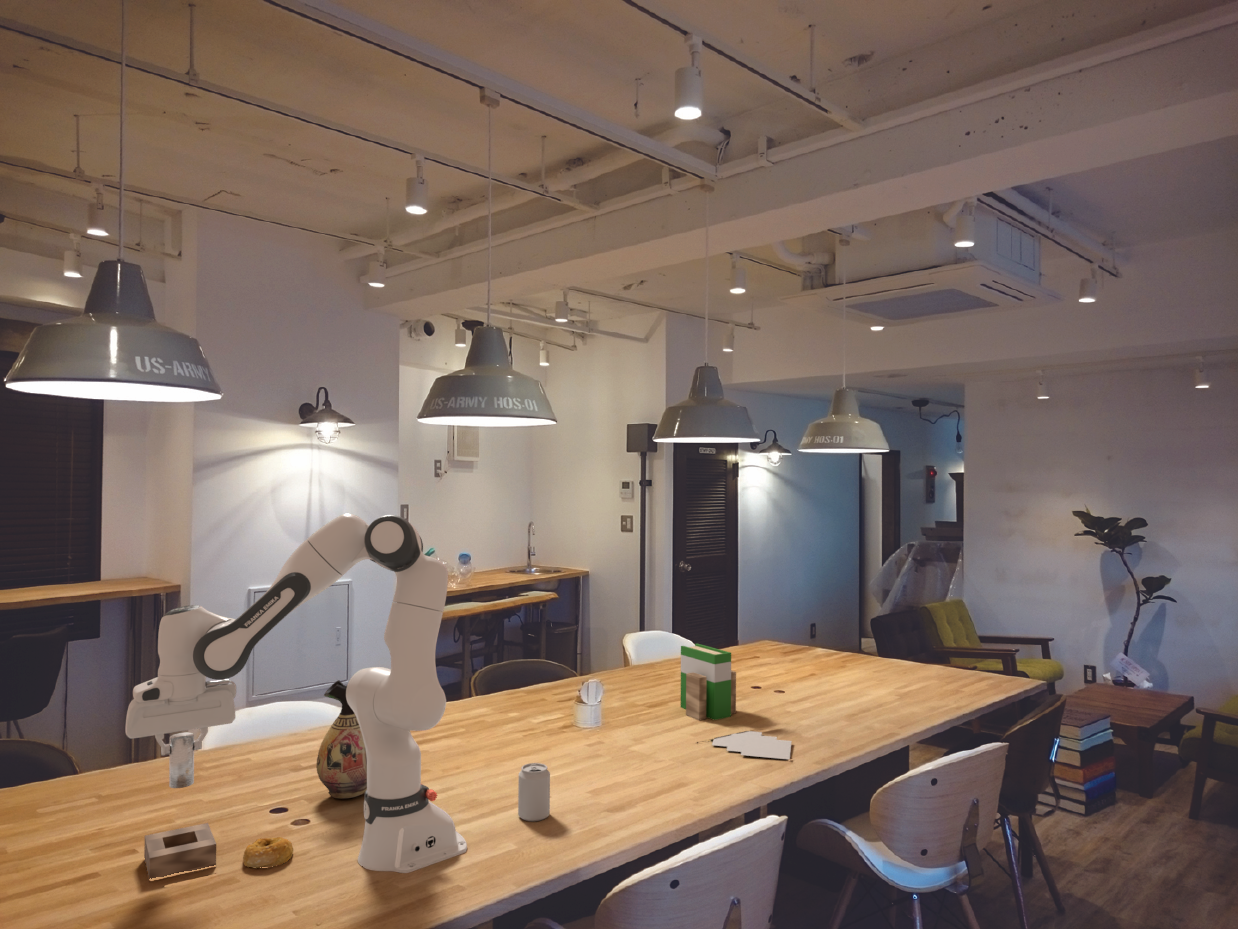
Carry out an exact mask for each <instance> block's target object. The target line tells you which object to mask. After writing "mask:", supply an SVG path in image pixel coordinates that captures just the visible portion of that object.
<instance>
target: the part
mask: <svg viewBox="0 0 1238 929" xmlns="http://www.w3.org/2000/svg"><path fill="white" fill-rule="evenodd" d="M194 740H195V734H194V733H193V732H187V731H186V732H179V733H178V732H177V733H174V734H172V735H170V736H169V744H170V754H169V763H168V764H169V776H168V777H169V784H168V786H169V788H171V789H184V788H188V787H190V786H192V785H194V783H195V750H194Z"/></svg>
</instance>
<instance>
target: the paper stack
mask: <svg viewBox="0 0 1238 929" xmlns="http://www.w3.org/2000/svg"><path fill="white" fill-rule="evenodd" d="M762 733H763V732H762V731H752V730H745V731H739V732H736V733H731V734H726V735H722V736H717V737H714V738H713V741H712V743H711V746H717V747H726V751H727V752H728V751H729V752H737V753H738V752H740V756H747V757H749V756H750V757H756V758H757V757H758V758H759V757H760V758H769V759H770V758H771V759H778V760H779V759H780V760H790V759H791V750H792V749H791V748H792V740H784V739H778V737H777V736H771V735H770V736H768V735H763V734H762Z"/></svg>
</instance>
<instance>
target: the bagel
mask: <svg viewBox="0 0 1238 929" xmlns="http://www.w3.org/2000/svg"><path fill="white" fill-rule="evenodd" d="M243 852H244V853H243V856H242V859H243V860H242V862H243V865H244V866H245V867H246V866H247V867H246V868H249V867H256V868H255V869H257V868H260V867H261V868H262V867H272V866H276V865H279V866H281V865H283V863H284V864H285V862H286V863H288V862H289V861H290V860H291V858H292V856H293V853H294V847H293V844H292V841H290V840H289V839H287V838H283V837H282V836H278V837H265V838H262V837H261V838H258V839H256V840H255V841H253V842H252V844H248V845H247V846H246V847H245V850H244V851H243ZM289 859H290V860H289ZM288 860H289V861H288ZM287 861H288V862H287ZM280 864H281V865H280ZM276 867H277V866H276Z"/></svg>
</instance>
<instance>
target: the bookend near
mask: <svg viewBox="0 0 1238 929" xmlns="http://www.w3.org/2000/svg"><path fill="white" fill-rule="evenodd" d="M706 681H707V677H706V676H703V675H700V674H697V673H694V672H692V673H686V709H685V716H687V717H690V718H692V719H695V720H697V721H703V720H706V719H707V717H706Z"/></svg>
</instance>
